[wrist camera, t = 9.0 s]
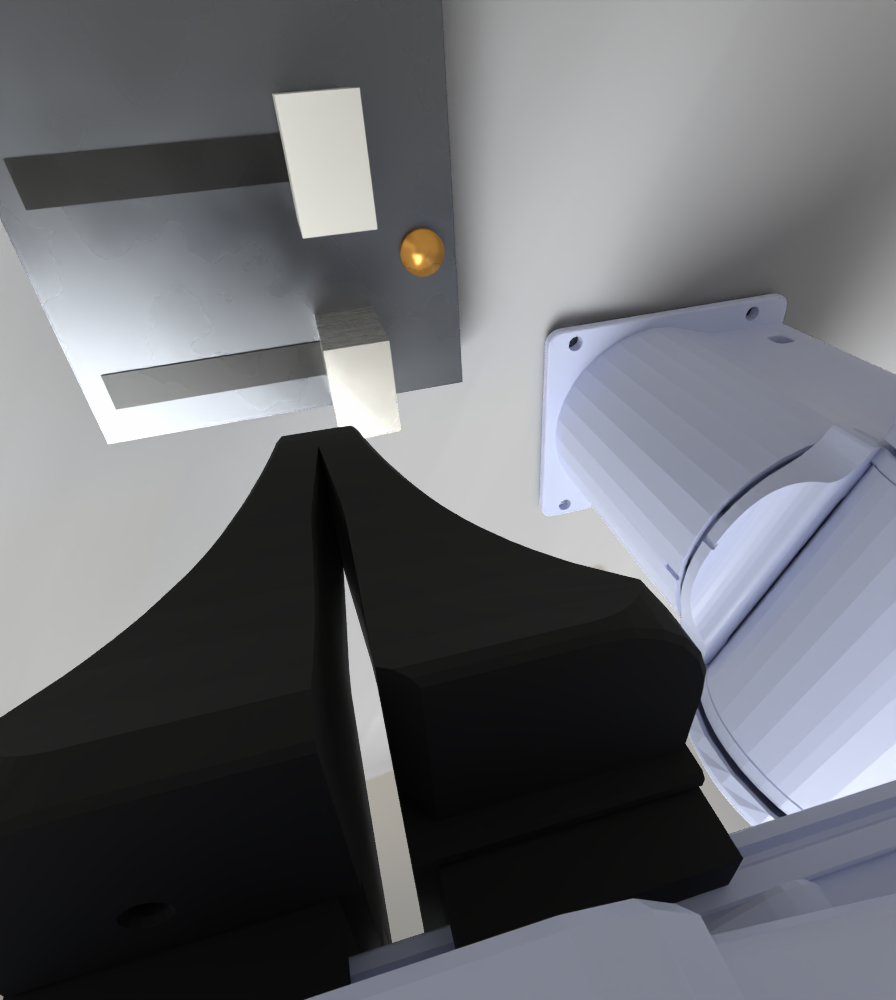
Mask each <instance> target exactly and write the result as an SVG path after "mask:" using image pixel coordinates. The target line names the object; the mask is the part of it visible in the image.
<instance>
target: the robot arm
mask: <svg viewBox="0 0 896 1000" xmlns="http://www.w3.org/2000/svg"><path fill="white" fill-rule="evenodd" d="M750 308H752V310H751V312H750V314H749V315H748V316H746V314H747V312H748V310H749V309H750ZM786 309H787V300H786V298H785V297H784V296H782V295H779V294H767V295H761V296H755V297H749V298H743V299H737V300H730V301H724V302H718V303H712V304H706V305H700V306H694V307H688V308H682V309H676V310H670V311H664V312H657V313H651V314H645V315H639V316H633V317H627V318H621V319H615V320H609V321H603V322H597V323H591V324H585V325H578V326H572V327H566V328H560V329H557V330H554V331H553V332H552V333H550V334H549V336H548V337H547V339H546V342H545V357H544V386H543V415H542V444H541V473H540V502H539V505H540V509H541V511H542V512H543V513H544V514H545V515H546V516H555V515H560V514H564V513H569V512H573V511H578V510H582V509H587V508H591V507H593V508H594V510H595V511H596V512H597V513H598V515H599V516H600V517H601V518H602V520H603V521H604V522H605V523H606V525H607V526H608V527H609V529H610V530H611V531H612V532H613V534H614V535H615V536H616V537H617V539H618V540H619V541H620V542H621V544H622V545H623V546H624V547H625V549H626V550H627V551H628V552H629V554H630V555H631V556H632V558H633V559H634V560H635V561H636V563H637V564H638V565H639V566H640V568H641V569H642V570H643V571H644V573H645V574H646V575H647V576H648V578H649V579H650V580H651V581H652V583H653V584H654V585H655V587H656V588H657V589H658V590H659V592H660V593H661V594H662V595H663V597H664V598H665V599H666V600H667V602H668V603H669V604H670V605H671V607H672V608H673V609H674V610H675V612H676V613H677V614H678V616H679V617H680V618H681V622H680V624H679V623H678V621H677V620H676V619H675V618H674V616H673V615H672V614H671V613H670V612H669V610H668V609H667V608H666V607H665V606H664V605H663V604H662V602H661V601H660V600H659V599H658V598H657V597H656V596H655V595H654V594H653V593H652V592H651V591H650V590H649V589H648V588H647V587H646V585H645V584H644V583H643V582H642V581H641V580H639V579H635V578H631V577H627V576H623V575H619V574H615V573H611V572H607V571H603V570H599V569H595V568H591V567H587V566H583V565H579V564H575V563H572V562H568V561H565V560H562V559H559V558H556V557H553V556H550V555H547V554H544V553H541V552H538V551H535V550H532V549H530V548H527V547H525V546H522V545H520V544H517V543H514V542H512V541H509V540H507V539H505V538H503V537H501V536H498V535H496V534H494V533H492V532H490V531H487V530H485V529H483V528H481V527H479V526H477V525H475V524H473V523H471V522H469V521H467V520H465V519H463V518H462V517H460V516H458V515H457V514H455V513H453V512H452V511H450V510H448V509H447V508H445V507H443V506H442V505H440V504H439V503H437V502H436V501H434V500H433V499H431V498H430V497H429V496H427V495H426V494H425V493H423V492H422V491H421V490H419V489H418V488H417V487H415V486H414V485H413V484H412V483H411V482H409V481H408V480H407V479H406V478H404V477H403V476H402V475H401V474H400V473H399V472H398V471H397V470H395V469H394V468H393V467H392V466H391V465H390V464H389V463H388V462H387V461H386V460H385V459H384V458H382V457H381V456H380V455H379V453H378V452H377V451H376V450H375V449H374V448H373V447H372V446H371V445H370V444H369V443H368V442H367V441H366V439H365V438H364V437H363V436H362V434H361V433H360V432H359V430H357V429H356V428H355V427H353V426H352V425H349V426H343V427H337V428H331V429H325V430H319V431H312V432H306V433H300V434H294V435H288V436H282V437H281V438H280V439H279V441H278V442H277V443H276V445H275V448H274V450H273V452H272V454H271V456H270V458H269V460H268V462H267V464H266V466H265V468H264V470H263V472H262V473H261V475H260V477H259V479H258V480H257V482H256V484H255V485H254V487H253V489H252V490H251V492H250V494H249V496H248V497H247V499H246V500H245V502H244V504H243V505H242V507H241V508H240V509H239V511H238V512H237V514H236V515H235V517H234V518H233V519H232V521H231V522H230V524H229V525H228V526H227V528H226V529H225V531H224V532H223V533H222V535H221V536H220V537H219V539H218V540H217V541H216V542H215V544H214V545H213V546H212V547H211V549H210V550H209V551H208V552H207V553H206V554H205V555H204V557H203V558H202V559H201V560H200V561H199V562H198V563H197V564H196V565H195V567H194V568H193V569H192V570H191V571H190V572H189V573H188V574H187V575H186V576H185V577H184V578H183V579H182V580H181V581H179V582H178V583H177V584H176V585H175V586H174V587H173V588H172V589H171V590H170V591H169V592H168V593H167V594H165V595H164V596H163V597H162V598H161V599H160V600H159V601H158V602H157V603H156V604H155V605H154V606H152V607H151V608H150V609H149V610H148V611H147V612H146V613H145V614H144V615H143V616H141V617H140V618H139V619H138V620H137V621H135V622H134V623H133V624H132V625H130V626H129V627H128V628H127V629H126V630H124V631H123V632H122V633H121V634H119V635H118V636H117V637H116V638H114V639H113V640H112V641H110V642H109V643H108V644H106V645H105V646H104V647H102V648H101V649H100V650H99V651H97V652H96V653H95V654H93V655H92V656H91V657H89V658H88V659H87V660H85V661H84V662H82V663H81V664H80V665H78V666H77V667H75V668H74V669H73V670H71V671H70V672H68V673H67V674H66V675H64V676H63V677H61V678H60V679H58V680H57V681H55V682H54V683H52V684H51V685H49V686H48V687H46V688H45V689H43V690H42V691H40V692H38V693H37V694H35V695H34V696H32V697H31V698H29V699H28V700H26V701H25V702H23V703H22V704H20V705H19V706H17V707H16V708H14V709H13V710H11V711H10V712H8V713H7V714H5V715H4V716H2V717H1V718H0V995H2V996H4V998H3V1000H896V375H895V374H893V373H891V372H889V371H887V370H884V369H882V368H880V367H878V366H875V365H873V364H871V363H869V362H867V361H864V360H862V359H860V358H858V357H856V356H853V355H851V354H849V353H847V352H844V351H842V350H840V349H838V348H836V347H833V346H831V345H829V344H827V343H825V342H822V341H820V340H818V339H816V338H814V337H811V336H809V335H807V334H805V333H802V332H800V331H798V330H796V329H794V328H791V327H789V326H787V325H785V324H782V323H783V319H784V316H785V312H786ZM576 336H578V340H577V343H576V344H575V345H574V346H572V347H569V342H570V340H571V339H572V338H574V337H576ZM564 500H566V502H565V503H563V504H561V505H560V503H561V502H562V501H564ZM343 568H344V570H343ZM344 572H345V575H346V578H347V582H348V585H349V589H350V592H351V595H352V599H353V602H354V605H355V609H356V612H357V616H358V619H359V622H360V626H361V629H362V632H363V636H364V639H365V642H366V646H367V649H368V653H369V656H370V659H371V663H372V666H373V670H374V674H375V678H376V682H377V686H378V691H379V697H380V702H381V707H382V712H383V718H384V723H385V728H386V733H387V739H388V744H389V749H390V754H391V760H392V765H393V770H394V775H395V780H396V786H397V791H398V796H399V801H400V807H401V812H402V817H403V822H404V828H405V833H406V838H407V843H408V848H409V853H410V858H411V864H412V869H413V875H414V880H415V885H416V890H417V896H418V901H419V906H420V912H421V917H422V922H423V927H424V933H422V934H419V935H416V936H413V937H410V938H407V939H404V940H400V941H398V942H394V943H392V940H391V934H390V928H389V922H388V916H387V910H386V904H385V898H384V893H383V886H382V880H381V875H380V869H379V862H378V856H377V850H376V844H375V838H374V832H373V825H372V819H371V814H370V808H369V801H368V795H367V789H366V782H365V776H364V770H363V764H362V758H361V751H360V745H359V739H358V732H357V726H356V720H355V713H354V707H353V701H352V694H351V685H350V675H349V660H348V642H347V623H346V605H345V587H344ZM688 736H689V738H690V740H691V742H692V745H693V747H694V749H695V751H696V753H697V754H698V756H699V758H700V760H701V762H702V764H703V766H704V767H705V769H706V771H707V773H708V774H709V776H710V777H711V779H712V780H713V782H714V783H715V785H716V786H717V787H718V789H719V790H720V792H721V793H722V794H723V795H724V797H725V798H726V799H727V800H728V801H729V803H730V804H731V805H732V806H733V807H734V808H735V809H736V811H738V813H739V814H740V815H741V816H742V817H743V818H744V819H745V820H746V821H748V822H749V824H750V825H751V826H752V827H749V828H746V829H743V830H740V831H737V832H734V833H731V834H728V833H727V831H726V829H725V828H724V826H723V825H722V823H721V821H720V820H719V818H718V817H717V815H716V814H715V812H714V810H713V809H712V807H711V805H710V804H709V802H708V801H707V799H706V797H705V796H704V794H703V793H702V791H701V789H700V788H699V786H702V785H703V782H704V780H705V778H704V774H703V771H702V769H701V767H700V766H699V764H698V763H697V761H696V759H695V758H694V756H693V755H692V753H691V752H690V750H689V749H688V747H687V746H686V744H685V743H686V740H687V737H688Z"/></svg>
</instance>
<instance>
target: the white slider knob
mask: <svg viewBox="0 0 896 1000" xmlns="http://www.w3.org/2000/svg"><path fill="white" fill-rule="evenodd" d="M272 96H273V101H274V106H275V111H276V116H277V121H278V126H279V131H280V136H281V141H282V146H283V151H284V156H285V161H286V166H287V171H288V176H289V181H290V186H291V191H292V196H293V201H294V206H295V211H296V216H297V220H298V223H299V227H300V230H301V234H302V237H303V239H304V238H312V237H320V236H328V235H336V234H344V233H352V232H360V231H368V230H376V229H377V221H376V213H375V205H374V197H373V190H372V182H371V174H370V166H369V158H368V150H367V142H366V135H365V127H364V119H363V111H362V103H361V95H360V88H333V89H321V90H309V91H297V92H285V93H273V94H272Z"/></svg>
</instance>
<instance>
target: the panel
mask: <svg viewBox="0 0 896 1000" xmlns="http://www.w3.org/2000/svg"><path fill="white" fill-rule="evenodd" d="M333 88H360V95H361V103H362V111H363V119H364V127H365V135H366V142H367V150H368V158H369V166H370V174H371V182H372V190H373V197H374V205H375V213H376V221H377V229H376V230H368V231H360V232H352V233H344V234H336V235H328V236H320V237H312V238H304V239H303V237H302V234H301V230H300V227H299V223H298V220H297V216H296V211H295V206H294V201H293V196H292V191H291V186H290V181H289V176H288V171H287V166H286V161H285V156H284V151H283V146H282V141H281V136H280V131H279V126H278V121H277V116H276V111H275V106H274V101H273V96H272V94H273V93H285V92H297V91H309V90H321V89H333ZM0 219H1V221H2V223H3V225H4V227H5V230H6V232H7V234H8V236H9V238H10V240H11V242H12V244H13V246H14V248H15V250H16V253H17V255H18V257H19V259H20V261H21V263H22V265H23V267H24V269H25V271H26V273H27V276H28V278H29V280H30V282H31V284H32V286H33V288H34V290H35V292H36V294H37V296H38V299H39V301H40V303H41V305H42V307H43V309H44V311H45V313H46V315H47V317H48V319H49V322H50V324H51V326H52V328H53V330H54V332H55V334H56V336H57V338H58V340H59V342H60V345H61V347H62V349H63V351H64V353H65V355H66V357H67V359H68V361H69V363H70V365H71V368H72V370H73V372H74V374H75V376H76V378H77V380H78V382H79V384H80V386H81V388H82V391H83V393H84V395H85V397H86V399H87V401H88V403H89V405H90V407H91V409H92V411H93V414H94V416H95V418H96V420H97V422H98V424H99V426H100V428H101V430H102V432H103V434H104V437H105V439H106V441H107V443H108V444H112V443H118V442H123V441H129V440H135V439H140V438H146V437H152V436H157V435H163V434H169V433H174V432H180V431H186V430H192V429H197V428H203V427H209V426H214V425H220V424H226V423H231V422H237V421H243V420H248V419H254V418H260V417H266V416H271V415H277V414H283V413H288V412H294V411H300V410H305V409H311V408H317V407H322V406H328V405H333V408H334V412H335V416H336V421H337V425H338V427H343V426H349V425H352V426H353V427H355V428H356V429H357V430H359V432H360V433H361V434H362V436H363V437H364V438H366V437H371V436H376V435H382V434H387V433H393V432H398V431H401V427H400V419H399V412H398V404H397V396H396V393H402V392H408V391H413V390H419V389H425V388H431V387H436V386H442V385H448V384H453V383H459V382H462V365H461V347H460V329H459V310H458V292H457V274H456V256H455V238H454V219H453V201H452V183H451V165H450V147H449V129H448V110H447V92H446V74H445V56H444V38H443V20H442V1H441V0H0Z"/></svg>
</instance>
